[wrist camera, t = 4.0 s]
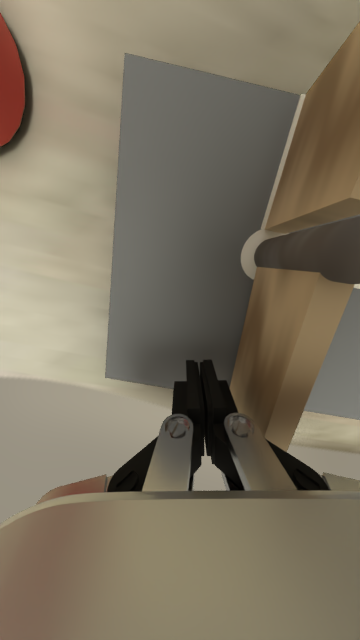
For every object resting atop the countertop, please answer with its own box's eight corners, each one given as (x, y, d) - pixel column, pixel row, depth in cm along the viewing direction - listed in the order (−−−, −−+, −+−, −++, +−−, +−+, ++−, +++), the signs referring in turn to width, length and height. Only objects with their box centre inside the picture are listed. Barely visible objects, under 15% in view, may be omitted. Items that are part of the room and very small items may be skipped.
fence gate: (258, 236, 10) (343, 209, 5) (290, 240, 10) (412, 217, 5) (222, 400, 13) (247, 489, 8) (246, 402, 13) (286, 493, 8)
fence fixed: (304, 95, 8) (510, -183, 3) (328, 102, 8) (570, -161, 3) (263, 229, 10) (349, 197, 5) (284, 233, 10) (390, 206, 5)
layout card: (131, 74, 9) (123, 49, 8) (528, 169, 10) (570, 158, 9) (110, 369, 14) (104, 378, 13) (365, 412, 15) (379, 424, 14)
